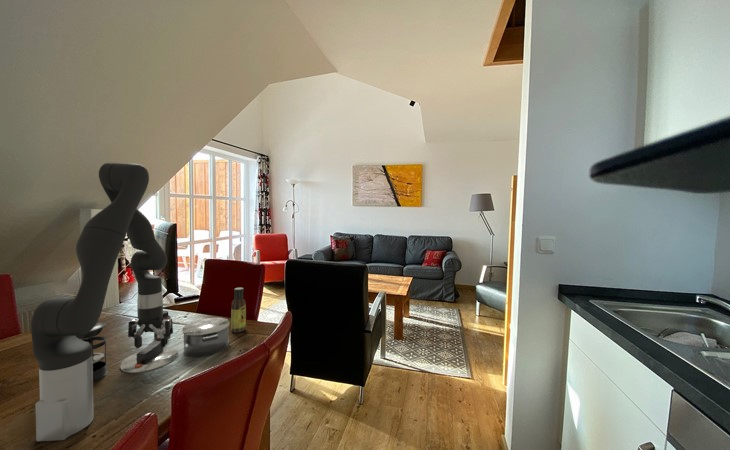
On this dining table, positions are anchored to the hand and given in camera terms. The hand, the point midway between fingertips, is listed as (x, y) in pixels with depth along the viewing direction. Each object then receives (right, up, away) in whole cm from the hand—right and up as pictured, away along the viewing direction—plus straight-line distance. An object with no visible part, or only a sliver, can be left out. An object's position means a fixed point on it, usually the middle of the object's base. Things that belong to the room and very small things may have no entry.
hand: (151, 347), depth 104 cm
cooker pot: (+15, -5, +10) cm, 19 cm away
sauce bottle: (+20, -4, +27) cm, 34 cm away
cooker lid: (0, -5, 0) cm, 5 cm away
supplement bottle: (-9, -4, +18) cm, 21 cm away
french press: (-12, -5, -12) cm, 18 cm away
